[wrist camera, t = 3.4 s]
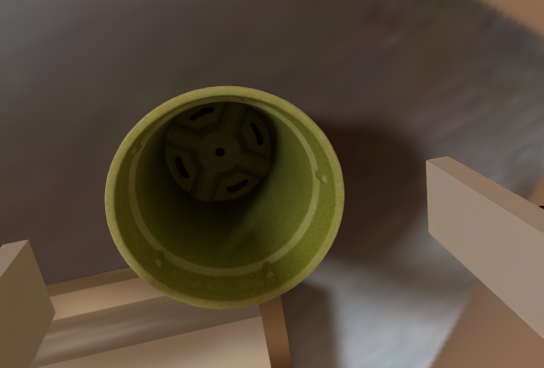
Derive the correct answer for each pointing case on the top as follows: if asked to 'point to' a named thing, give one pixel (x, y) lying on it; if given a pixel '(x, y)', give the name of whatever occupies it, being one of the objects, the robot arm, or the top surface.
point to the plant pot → (224, 198)
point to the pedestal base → (155, 329)
